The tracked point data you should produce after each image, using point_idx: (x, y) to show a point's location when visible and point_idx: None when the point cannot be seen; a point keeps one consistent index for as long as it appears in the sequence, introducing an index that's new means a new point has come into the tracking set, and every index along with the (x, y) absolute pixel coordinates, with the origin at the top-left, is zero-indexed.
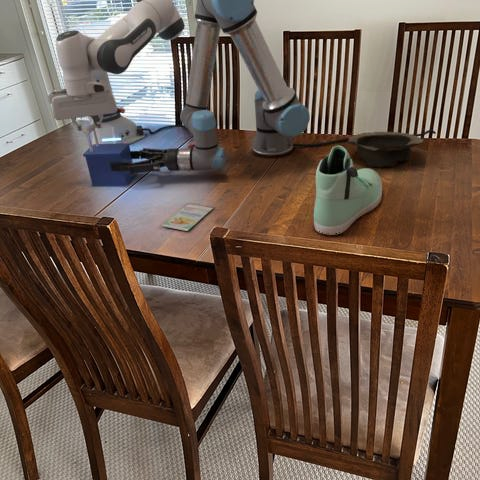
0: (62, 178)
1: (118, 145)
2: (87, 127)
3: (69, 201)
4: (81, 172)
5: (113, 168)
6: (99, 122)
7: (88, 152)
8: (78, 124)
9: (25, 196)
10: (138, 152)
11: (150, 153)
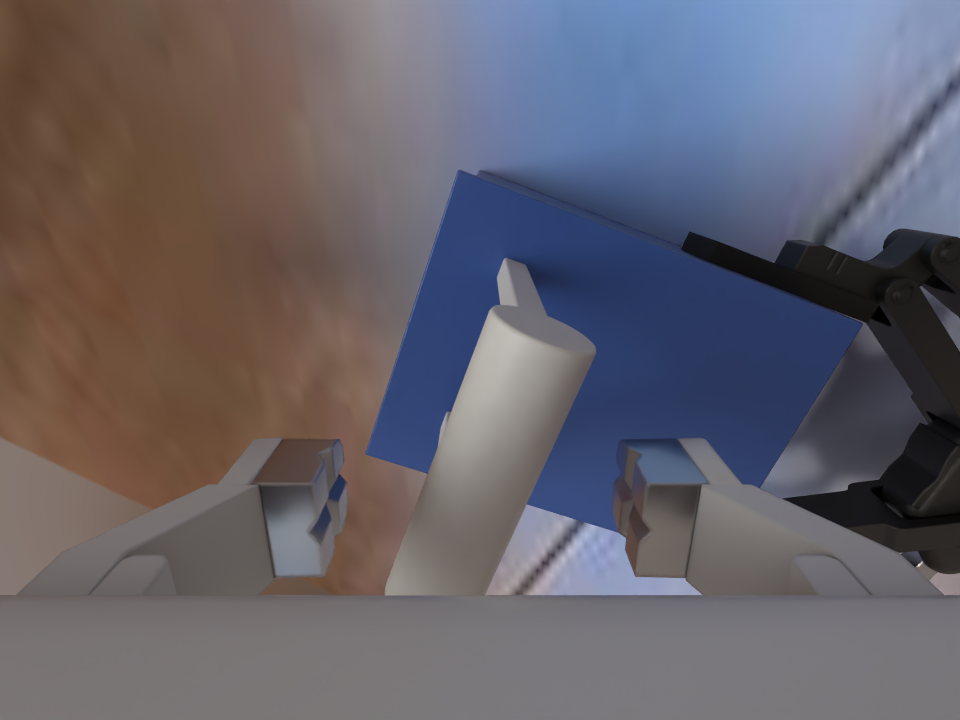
0: (170, 113)
1: (740, 350)
2: (450, 582)
3: None
4: (304, 35)
5: None
6: (704, 592)
7: (418, 428)
8: (257, 510)
9: (2, 344)
10: (866, 307)
11: (952, 401)
